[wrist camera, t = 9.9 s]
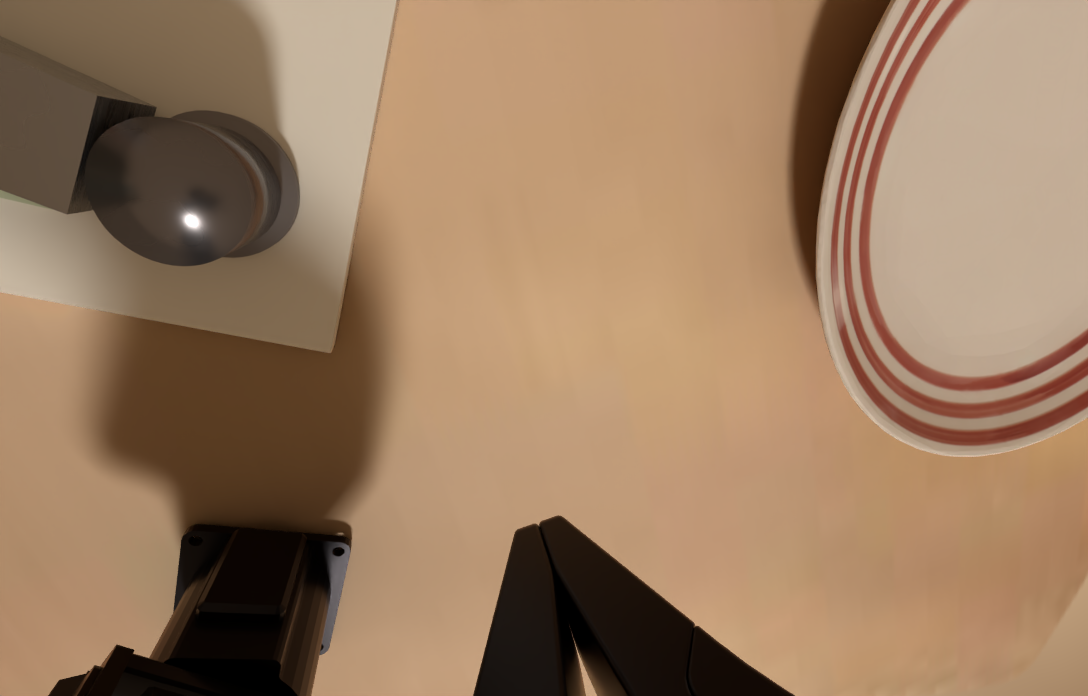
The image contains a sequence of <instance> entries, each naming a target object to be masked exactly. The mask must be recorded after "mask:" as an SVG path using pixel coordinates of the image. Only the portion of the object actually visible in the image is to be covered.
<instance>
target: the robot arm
mask: <svg viewBox="0 0 1088 696" xmlns="http://www.w3.org/2000/svg"><path fill="white" fill-rule="evenodd" d="M539 527H540V528H539ZM193 536H199V537H201V538H202V539H195V538H194V537H193ZM336 547H341V548H343V549H342V550H336V549H335V548H336ZM350 552H351V541H350V540H349V539H348V538H346V537H343V536H333V535H321V534H309V533H298V532H286V531H274V530H262V529H250V528H239V527H227V526H215V525H203V524H197V525H193V526H190V527H189V528H188V529H187V531H186V532H185V534H184V535H183V537H182V540H181V549H180V558H179V567H178V576H177V585H176V594H175V603H174V612H173V615H172V617H171V618H170V620H169V622H168V624H167V626H166V628H165V630H164V631H163V633H162V635H161V637H160V639H159V641H158V643H157V644H156V646H155V648H154V650H153V652H152V654H151V656H150V657H149V658H146V657H143V656H140V655H136V654H133V652H134V650H133V649H130V648H126V647H123V646H120V645H116V646H115V647H114V649H113V650H112V651H111V653H110V654H109V655H108V657H107V658H106V659H105V661H104V662H103V663H102V665H101V666H96V665H95V666H94V667H93V668H92V669H91V670H90V671H88V672H87V673H86V674H83V675H78V676H74V677H70V678H66V679H62V680H59V681H58V683H57V684H56V685H55V687H54V688H53V689H52V691H51V692H50V693H49V695H48V696H311V694H312V689H313V684H314V679H315V674H316V669H317V664H318V659H319V655H322V654H324V653H325V652H327V651H328V649H329V646H330V642H331V637H332V633H333V628H334V624H335V619H336V615H337V610H338V606H339V601H340V597H341V592H342V588H343V583H344V579H345V574H346V570H347V565H348V561H349V557H350ZM569 625H570V626H569ZM571 632H572V633H571ZM572 635H573V636H572ZM573 638H574V639H573ZM574 641H575V643H574ZM575 644H576V647H577V650H578V653H579V655H580V657H581V660H582V662H583V665H584V667H585V669H586V671H587V674H588V676H589V678H590V680H591V683H592V685H593V687H594V689H595V692H596V694H597V696H795V695H793V694H792V693H790V692H788V691H787V690H785V689H784V688H782V687H781V686H779V685H778V684H776V683H775V682H773V681H772V680H770V679H769V678H767V677H766V676H764V675H763V674H761V673H760V672H758V671H757V670H755V669H754V668H752V667H751V666H749V665H748V664H747V663H745V662H744V661H743V660H741V659H740V658H739V657H737V656H736V655H735V654H733V653H732V652H731V651H729V650H728V649H727V648H726V647H724V646H723V645H722V644H720V643H719V642H718V641H716V640H715V639H714V638H713V637H711V636H710V635H709V634H708V633H706V632H705V631H704V630H703V629H702V628H700V627H699V626H695V624H694V622H693V621H691V620H690V619H689V618H688V617H686V616H685V615H684V614H683V613H681V612H680V611H679V610H678V609H676V608H675V607H674V606H673V605H671V604H670V603H669V602H668V601H666V600H665V599H664V598H663V597H662V596H660V595H659V594H658V593H657V592H655V591H654V590H653V589H652V588H650V587H649V586H648V585H647V584H645V583H644V582H643V581H642V580H640V579H639V578H638V577H637V576H635V575H634V574H633V573H632V572H631V571H629V570H628V569H627V568H626V567H624V566H623V565H622V564H621V563H619V562H618V561H617V560H616V559H614V558H613V557H612V556H611V555H609V554H608V553H607V552H606V551H604V550H603V549H602V548H601V547H600V546H598V545H597V544H596V543H595V542H593V541H592V540H591V539H590V538H588V537H587V536H586V535H585V534H583V533H582V532H581V531H580V530H578V529H577V528H576V527H575V526H573V525H572V524H571V523H570V522H569V521H567V520H566V519H565V518H563V517H562V516H555V517H552V518H549V519H546V520H543V521H541V522H540V524H539V526H538V525H537V524H532V525H529V526H526V527H523V528H520V529H518V530H516V532H515V534H514V538H513V542H512V545H511V549H510V553H509V557H508V561H507V565H506V569H505V573H504V577H503V581H502V585H501V589H500V593H499V596H498V600H497V604H496V608H495V612H494V616H493V620H492V624H491V628H490V632H489V636H488V640H487V644H486V647H485V651H484V655H483V659H482V663H481V667H480V671H479V675H478V679H477V683H476V687H475V691H474V694H473V696H586V694H585V689H584V684H583V678H582V673H581V668H580V663H579V659H578V654H577V650H576V647H575Z"/></svg>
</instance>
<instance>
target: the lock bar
mask: <svg viewBox="0 0 1088 696" xmlns="http://www.w3.org/2000/svg"><path fill="white" fill-rule="evenodd" d="M156 109H157V107H155V106H153V105H151V104H149V103H147V102H144V101H142V100H140V99H138V98H136V97H133V96H131V95H129V94H127V93H125V92H122V91H120V90H118V89H116V88H114V87H111V86H109V85H107V84H105V83H103V82H100V81H98V80H96V79H94V78H92V77H89V76H87V75H85V74H83V73H81V72H78V71H76V70H74V69H72V68H70V67H67V66H65V65H63V64H61V63H59V62H56V61H54V60H52V59H50V58H48V57H45V56H43V55H41V54H39V53H37V52H34V51H32V50H30V49H28V48H26V47H23V46H21V45H19V44H17V43H15V42H12V41H10V40H8V39H6V38H4V37H1V36H0V190H2V191H5V192H8V193H10V194H13V195H16V196H18V197H21V198H24V199H26V200H29V201H32V202H35V203H37V204H40V205H43V206H45V207H48V208H51V209H53V210H56V211H59V212H61V213H64V214H73V213H80V212H86V211H92V210H94V212H95V214H96V216H97V217H98V219H99V220H100V222H101V223H102V224H103V226H104V227H105V228H106V229H107V231H108V232H109V233H110V234H111V235H112V236H113V237H114V238H115V239H117V240H118V241H119V242H120V243H121V244H123V245H124V246H125V247H127V248H128V249H130V250H131V251H133V252H135V253H137V254H139V255H140V256H142V257H145V258H147V259H150V260H152V261H155V262H159V263H162V264H167V265H172V266H196V265H202V264H206V263H209V262H212V261H215V260H217V259H219V258H221V257H223V256H225V255H227V254H229V253H231V252H233V251H235V250H237V249H239V248H241V247H243V246H245V245H247V244H249V243H251V242H253V241H255V240H256V239H258V238H260V237H261V236H263V235H264V234H265V233H266V232H267V231H268V230H269V229H270V228H271V227H272V225H273V223H274V222H275V220H276V218H277V216H278V213H279V209H280V204H281V190H280V184H279V180H278V177H277V174H276V172H275V170H274V168H273V166H272V164H271V163H270V161H269V160H268V158H267V157H266V156H265V154H264V153H263V152H262V151H261V150H260V149H259V148H258V147H257V146H256V145H255V144H254V143H252V142H251V141H250V140H248V139H247V138H245V137H244V136H242V135H240V134H239V133H237V132H235V131H232V130H230V129H227V128H224V127H220V126H216V125H209V124H203V123H196V122H190V121H183V120H177V119H171V118H164V117H154V116H155V112H156Z"/></svg>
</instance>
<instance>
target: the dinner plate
mask: <svg viewBox="0 0 1088 696" xmlns="http://www.w3.org/2000/svg"><path fill="white" fill-rule="evenodd" d="M816 284H817V293H818V303H819V312H820V317H821V322H822V326H823V331H824V335H825V339H826V342H827V345H828V348H829V352H830V354H831V357H832V360H833V362H834V365H835V367H836V369H837V371H838V373H839V375H840V377H841V379H842V381H843V383H844V385H845V387H846V389H847V390H848V392H849V394H850V395H851V397H852V398H853V399H854V400H855V402H856V403H857V405H858V406H859V407H860V408H861V410H862V411H863V412H864V413H865V414H866V415H867V416H868V417H869V418H870V419H871V420H872V421H873V422H874V423H876V424H877V425H878V426H879V427H880V428H881V429H883V430H884V431H885V432H886V433H888V434H889V435H891V436H893V437H894V438H896V439H898V440H899V441H901V442H904V443H906V444H908V445H910V446H912V447H915V448H917V449H919V450H923V451H927V452H930V453H934V454H939V455H946V456H956V457H977V456H985V455H993V454H999V453H1004V452H1008V451H1012V450H1016V449H1020V448H1023V447H1026V446H1029V445H1032V444H1035V443H1037V442H1040V441H1042V440H1045V439H1047V438H1050V437H1052V436H1054V435H1056V434H1058V433H1061V432H1063V431H1065V430H1067V429H1068V428H1070V427H1072V426H1074V425H1076V424H1078V423H1079V422H1081V421H1083V420H1084V419H1086V418H1088V0H891V1H890V3H889V5H888V7H887V9H886V11H885V12H884V14H883V16H882V18H881V20H880V22H879V24H878V26H877V28H876V30H875V32H874V34H873V36H872V38H871V40H870V42H869V45H868V47H867V49H866V51H865V54H864V56H863V58H862V60H861V63H860V65H859V67H858V70H857V72H856V74H855V77H854V79H853V82H852V85H851V88H850V90H849V93H848V96H847V99H846V101H845V104H844V107H843V110H842V112H841V115H840V118H839V121H838V124H837V128H836V131H835V135H834V139H833V142H832V146H831V150H830V154H829V158H828V163H827V167H826V171H825V176H824V181H823V187H822V192H821V198H820V205H819V213H818V221H817V237H816Z"/></svg>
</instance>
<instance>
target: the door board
mask: <svg viewBox="0 0 1088 696" xmlns="http://www.w3.org/2000/svg"><path fill="white" fill-rule="evenodd" d="M398 5H399V0H0V36H1V37H4V38H6V39H8V40H10V41H12V42H15V43H17V44H19V45H21V46H23V47H26V48H28V49H30V50H32V51H34V52H37V53H39V54H41V55H43V56H45V57H48V58H50V59H52V60H54V61H56V62H59V63H61V64H63V65H65V66H67V67H70V68H72V69H74V70H76V71H78V72H81V73H83V74H85V75H87V76H89V77H92V78H94V79H96V80H98V81H100V82H103V83H105V84H107V85H109V86H111V87H114V88H116V89H118V90H120V91H122V92H125V93H127V94H129V95H131V96H133V97H136V98H138V99H140V100H142V101H144V102H147V103H149V104H151V105H153V106H155V107H157V109H156V112H155V116H154V117H164V118H171V119H177V120H183V121H190V122H196V123H203V124H209V125H216V126H220V127H224V128H227V129H230V130H232V131H235V132H237V133H239V134H240V135H242V136H244V137H245V138H247V139H248V140H250V141H251V142H252V143H254V144H255V145H256V146H257V147H258V148H259V149H260V150H261V151H262V152H263V153H264V154H265V156H266V157H267V158H268V160H269V161H270V163H271V164H272V166H273V168H274V170H275V172H276V174H277V177H278V180H279V184H280V190H281V204H280V209H279V213H278V216H277V218H276V220H275V222H274V223H273V225H272V227H271V228H270V229H269V230H268V231H267V232H266V233H265V234H264V235H263V236H261V237H260V238H258V239H256V240H255V241H253V242H251V243H249V244H247V245H245V246H243V247H241V248H239V249H237V250H235V251H233V252H231V253H229V254H227V255H225V256H223V257H221V258H219V259H217V260H215V261H212V262H209V263H206V264H202V265H196V266H172V265H167V264H162V263H159V262H155V261H152V260H150V259H147V258H145V257H142V256H140V255H139V254H137V253H135V252H133V251H131V250H130V249H128V248H127V247H125V246H124V245H123V244H121V243H120V242H119V241H118V240H117V239H115V238H114V237H113V236H112V235H111V234H110V233H109V232H108V231H107V229H106V228H105V227H104V226H103V224H102V223H101V222H100V220H99V219H98V217H97V216H96V214H95V212H94V210H92V211H86V212H80V213H73V214H64V213H61V212H59V211H56V210H53V209H51V208H48V207H45V206H43V205H40V204H37V203H35V202H32V201H29V200H26V199H24V198H21V197H18V196H16V195H13V194H10V193H8V192H5V191H2V190H0V292H2V293H7V294H13V295H18V296H23V297H29V298H34V299H40V300H45V301H50V302H56V303H61V304H67V305H72V306H77V307H83V308H88V309H94V310H99V311H104V312H110V313H115V314H120V315H126V316H131V317H137V318H142V319H147V320H153V321H158V322H164V323H169V324H174V325H180V326H185V327H191V328H196V329H201V330H207V331H212V332H218V333H223V334H228V335H234V336H239V337H245V338H250V339H255V340H261V341H266V342H272V343H277V344H282V345H288V346H293V347H299V348H304V349H309V350H315V351H320V352H326V353H331V352H332V350H333V347H334V345H335V341H336V336H337V330H338V325H339V320H340V314H341V309H342V304H343V298H344V293H345V288H346V282H347V277H348V272H349V266H350V261H351V256H352V250H353V245H354V240H355V234H356V229H357V224H358V218H359V213H360V208H361V202H362V197H363V192H364V186H365V181H366V176H367V170H368V165H369V160H370V154H371V149H372V144H373V139H374V133H375V128H376V123H377V117H378V112H379V107H380V101H381V96H382V91H383V85H384V80H385V75H386V69H387V64H388V59H389V53H390V48H391V43H392V37H393V32H394V27H395V21H396V16H397V11H398Z"/></svg>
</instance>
